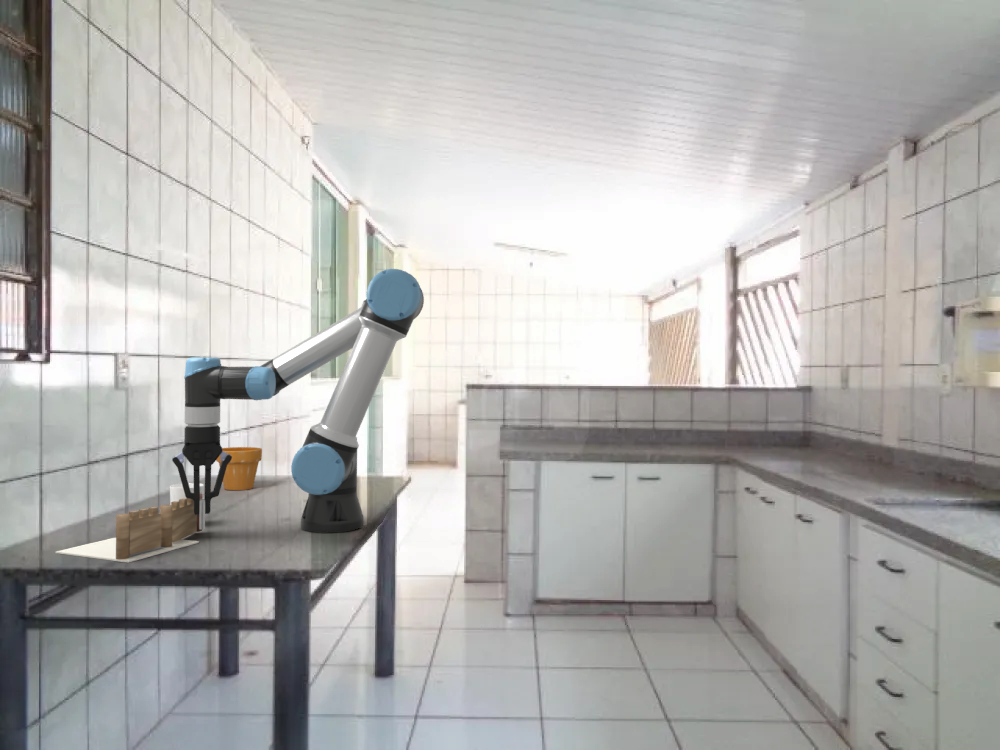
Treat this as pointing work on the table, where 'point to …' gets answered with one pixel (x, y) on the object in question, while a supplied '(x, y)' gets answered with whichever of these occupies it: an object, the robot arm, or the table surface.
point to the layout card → (108, 550)
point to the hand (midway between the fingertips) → (201, 528)
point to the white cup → (182, 491)
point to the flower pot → (241, 467)
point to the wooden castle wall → (143, 530)
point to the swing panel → (184, 519)
